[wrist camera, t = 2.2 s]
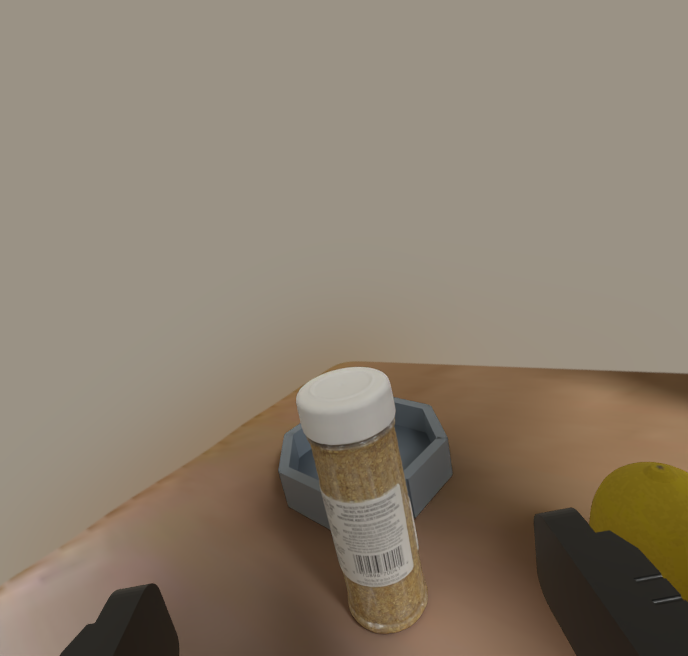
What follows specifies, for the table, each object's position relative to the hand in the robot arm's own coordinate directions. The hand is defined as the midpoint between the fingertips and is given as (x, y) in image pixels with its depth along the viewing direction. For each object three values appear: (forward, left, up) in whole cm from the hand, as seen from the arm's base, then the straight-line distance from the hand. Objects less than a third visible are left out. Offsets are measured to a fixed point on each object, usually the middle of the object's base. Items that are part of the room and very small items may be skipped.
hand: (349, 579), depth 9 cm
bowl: (0, -23, -14) cm, 27 cm away
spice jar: (0, -11, -14) cm, 18 cm away
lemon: (-13, -8, -14) cm, 21 cm away
